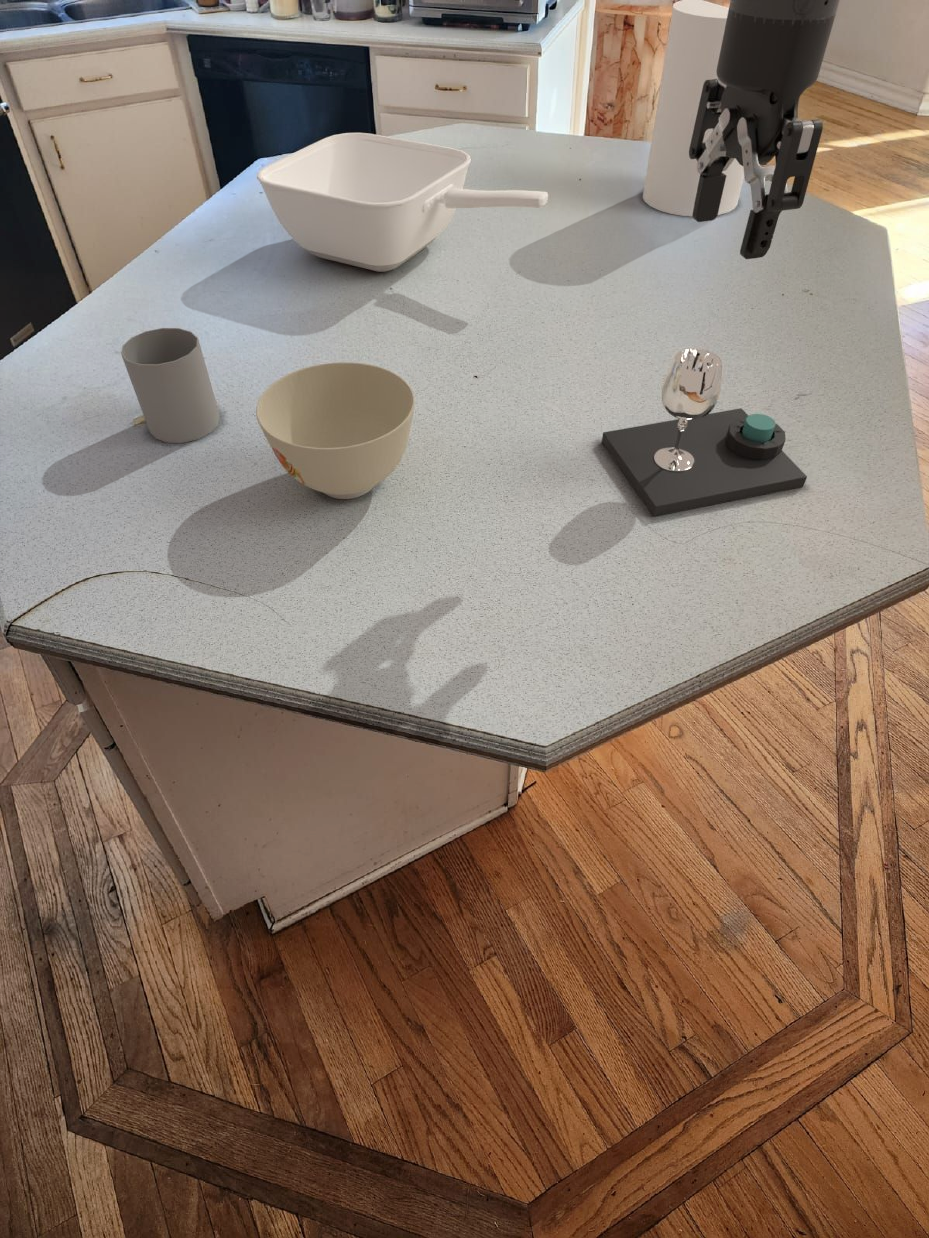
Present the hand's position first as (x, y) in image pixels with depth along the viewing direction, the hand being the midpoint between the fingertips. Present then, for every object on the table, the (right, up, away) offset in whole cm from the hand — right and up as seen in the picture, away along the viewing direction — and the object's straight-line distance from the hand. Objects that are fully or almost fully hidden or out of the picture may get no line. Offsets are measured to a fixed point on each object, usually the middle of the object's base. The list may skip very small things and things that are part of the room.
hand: (726, 237), depth 67 cm
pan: (-31, +24, +56) cm, 68 cm away
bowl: (-36, -19, +17) cm, 44 cm away
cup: (-57, -10, +25) cm, 63 cm away
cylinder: (+19, +44, +74) cm, 88 cm away
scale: (+3, -16, +19) cm, 25 cm away
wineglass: (0, -16, +18) cm, 24 cm away
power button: (+10, -13, +18) cm, 25 cm away
